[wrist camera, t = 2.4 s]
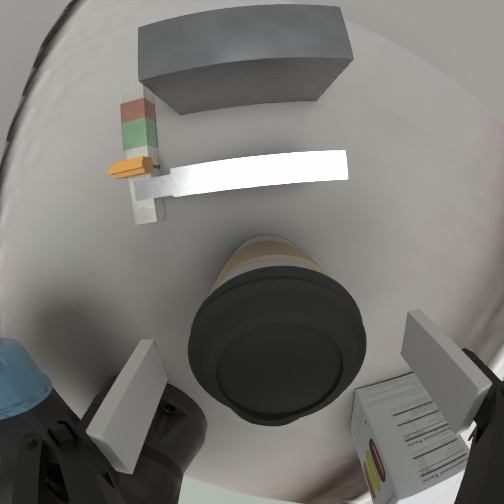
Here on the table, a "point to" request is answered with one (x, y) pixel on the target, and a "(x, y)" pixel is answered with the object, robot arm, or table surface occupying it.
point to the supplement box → (405, 443)
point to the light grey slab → (245, 174)
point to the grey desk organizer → (227, 69)
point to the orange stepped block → (132, 167)
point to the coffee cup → (276, 335)
